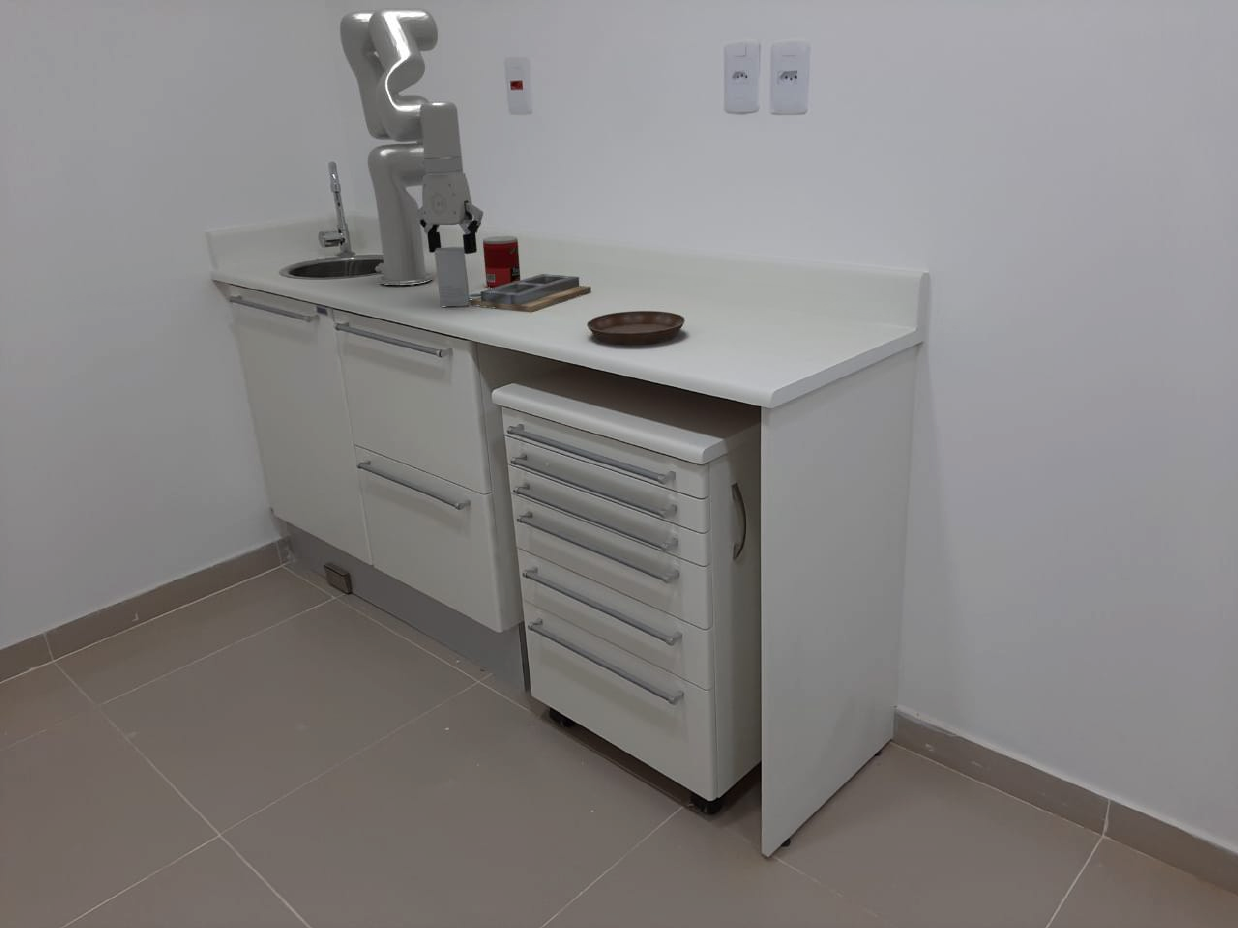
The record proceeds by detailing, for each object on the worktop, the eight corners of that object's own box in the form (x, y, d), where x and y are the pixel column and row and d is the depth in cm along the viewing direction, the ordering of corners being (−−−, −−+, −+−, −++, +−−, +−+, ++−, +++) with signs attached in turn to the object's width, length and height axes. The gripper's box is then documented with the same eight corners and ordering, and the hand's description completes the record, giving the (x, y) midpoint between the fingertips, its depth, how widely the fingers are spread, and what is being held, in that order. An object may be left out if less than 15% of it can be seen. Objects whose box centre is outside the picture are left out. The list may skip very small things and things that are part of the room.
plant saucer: (567, 340, 175) (566, 323, 174) (630, 321, 187) (629, 306, 186) (642, 354, 164) (642, 337, 163) (704, 333, 177) (704, 317, 175)
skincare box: (470, 302, 208) (465, 245, 204) (469, 307, 204) (464, 249, 200) (441, 304, 208) (436, 247, 204) (440, 308, 204) (434, 250, 199)
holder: (470, 305, 205) (469, 290, 204) (533, 287, 222) (532, 273, 221) (530, 312, 197) (529, 296, 196) (590, 292, 214) (590, 278, 213)
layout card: (456, 299, 212) (456, 295, 212) (485, 290, 220) (485, 287, 220) (481, 301, 209) (480, 298, 208) (509, 293, 216) (509, 289, 216)
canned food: (519, 289, 221) (515, 240, 217) (484, 290, 221) (480, 241, 217) (522, 282, 228) (519, 235, 224) (489, 283, 228) (485, 236, 224)
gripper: (399, 168, 197) (409, 253, 203) (464, 167, 188) (473, 256, 194) (425, 166, 203) (434, 249, 209) (489, 165, 194) (496, 251, 200)
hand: (453, 252), depth 201 cm, fingers open, 9 cm apart
